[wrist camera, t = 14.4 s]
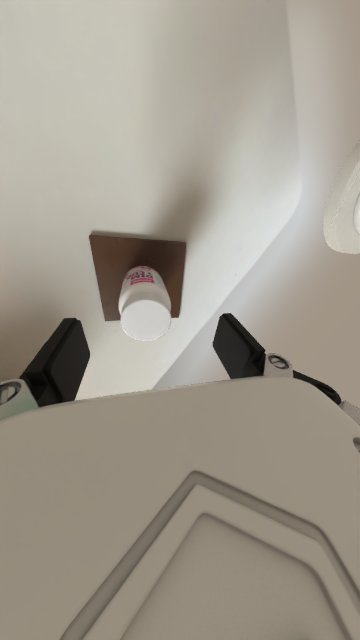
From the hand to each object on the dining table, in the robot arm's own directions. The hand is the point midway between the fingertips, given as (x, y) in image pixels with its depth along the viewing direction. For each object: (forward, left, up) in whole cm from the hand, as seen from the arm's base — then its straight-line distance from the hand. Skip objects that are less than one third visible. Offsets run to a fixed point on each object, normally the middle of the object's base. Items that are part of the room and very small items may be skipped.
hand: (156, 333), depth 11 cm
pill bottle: (+1, 0, -10) cm, 10 cm away
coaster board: (+1, 0, -11) cm, 11 cm away
